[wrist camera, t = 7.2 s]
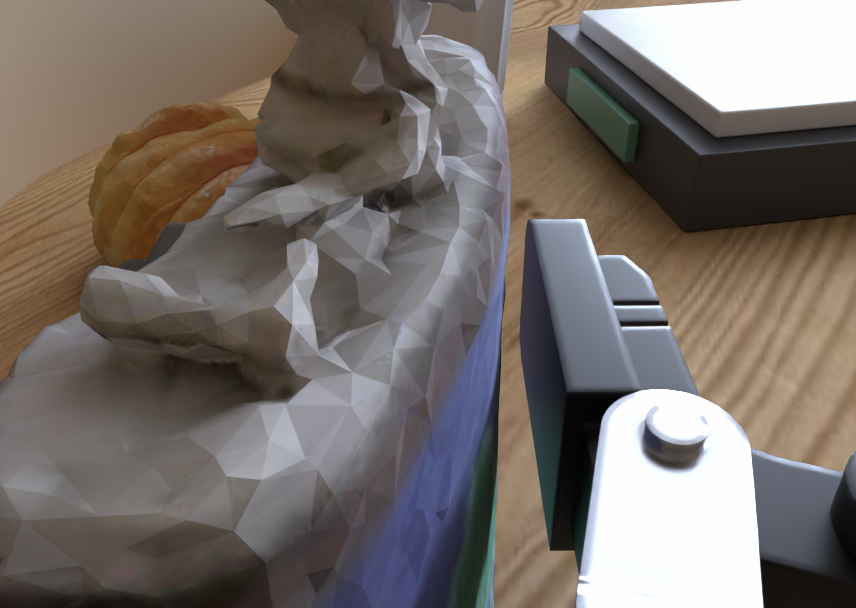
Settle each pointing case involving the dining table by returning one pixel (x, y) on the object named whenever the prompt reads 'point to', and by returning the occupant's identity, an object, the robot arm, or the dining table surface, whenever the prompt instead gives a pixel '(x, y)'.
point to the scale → (720, 104)
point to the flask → (288, 357)
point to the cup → (477, 31)
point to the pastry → (166, 175)
